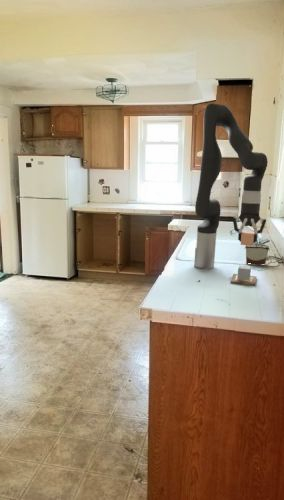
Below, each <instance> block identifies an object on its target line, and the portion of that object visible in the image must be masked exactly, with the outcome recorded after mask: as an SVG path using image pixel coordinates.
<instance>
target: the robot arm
mask: <svg viewBox="0 0 284 500" xmlns="http://www.w3.org/2000/svg"><path fill="white" fill-rule="evenodd" d="M202 122H203V128H202V129H203V137H202V138H203V140H202V151H201V160H200V171H199V172H200V173H199V180H198V181H199V182H198V189H197V193H196V200H195V205H194V208H195V210H194V212H195V214H196V217H198V219H203V221H202V223H200V224H199V225H197V229H196V246H195V250H194V262H193V265H194V267H195V268H198V269H203V270H204V269H205V270H206V269H207V270H209V269H213V268H215V261H216V260H215V258H216V244H217V232H218V231H217V230H218V228H219V226H220V225H219V224H220V219H221V211H222V210H221V203H220V202H219V200H218V199H216V198H211V193H212V188H213V186H214V184H215V182H216V180H217V179H218V177H219V176H220V173H221V168H222V161H223V160H222V159H223V155H222V152H221V148H220V147H219V146H220V145H219V143H218V140H217V134H216V133H217V132H216V131H217V127H221V128H223V129H224V130H225V131H226V132H227V134H228V135H227V136H228V142H229V145H230V146H231V148H232V149H233V151H234V152H236V154H237V157H238V160H239V162H240V165H241V166H242V168H244V169H245V170H248V171H251V173H250V175H247V176H246V177H244V179H243V187H242V188H243V190H242V196H241V204H240V206H241V207H240V208H241V209H240V214H239V216H232V217H233V218H232V224H233V230H234V231H235V232H237V234H238V236H237V237H238V238H237V240H238V241H239V242H240V243H241V234H242V231H244V228H245V227H252V229H253V232H254V240H253V244H256V242H257V240H258V235H259V234H262V233H263V231H264V228H265V225H266V223H267V219H266V218H262V217H261V216H260V211H261V210H260V209H261V200H262V199H261V197H262V194H261V192H262V183H263V179H264V175H265V173H266V171H267V168H268V163H269V162H268V157H267V155H266V154H265V153H263V152H257V151H256V152H255V151H253V150H254V145H253V143H252V141H251V140H250V139H249V138H248V137H247V135H245V132H244V131H243V130H242V129H241V127H240V126H239V124H238V122H237V120H236V118H235V116H234V114H233V112H232V110H231V109H230V108H229V106H227V105H225V104H221V103H219V104H218V103H208V104H207V105H206V107H205V109H204V112H203V119H202ZM239 221H240V222H241V225H240V227H239V228H238V222H239ZM259 221H260V224H261V226H260V228H259V229H258V228H257V227H258V226H257V223H258V222H259Z"/></svg>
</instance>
